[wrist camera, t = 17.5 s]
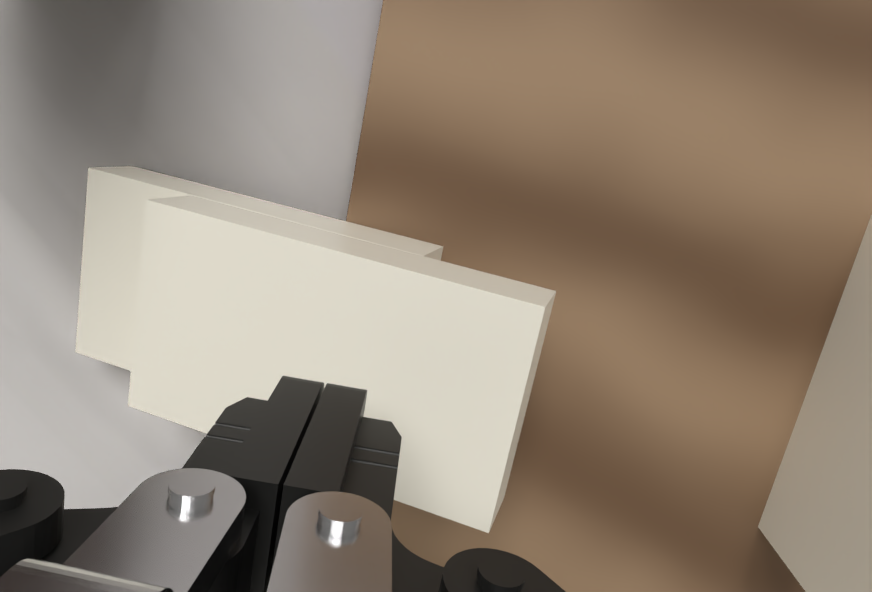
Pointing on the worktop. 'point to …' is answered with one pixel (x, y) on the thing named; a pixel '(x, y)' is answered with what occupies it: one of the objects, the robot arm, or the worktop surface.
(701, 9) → the cutting board
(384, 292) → the domino
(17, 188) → the worktop surface
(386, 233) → the domino
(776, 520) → the domino
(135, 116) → the worktop surface
